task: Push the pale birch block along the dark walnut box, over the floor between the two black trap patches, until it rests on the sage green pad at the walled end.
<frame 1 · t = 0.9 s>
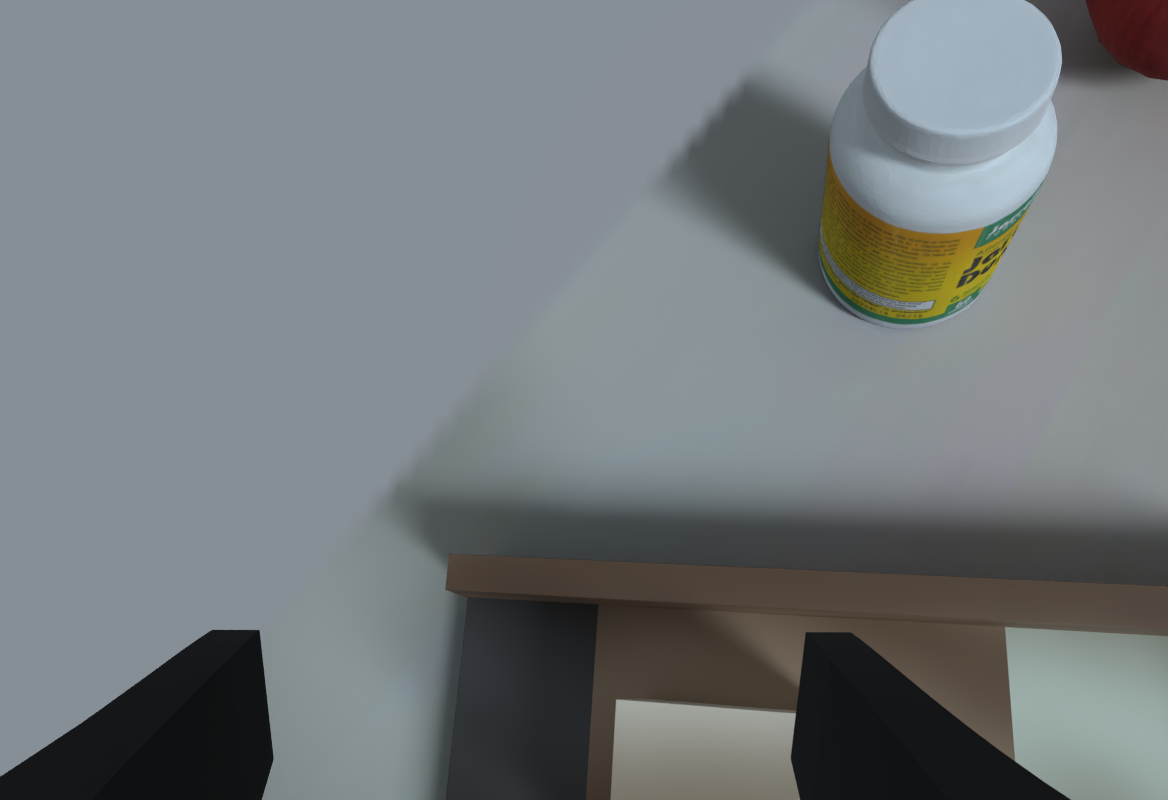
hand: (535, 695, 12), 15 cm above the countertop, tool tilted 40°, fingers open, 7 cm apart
supplement bottle: (901, 260, 28), on the countertop
onion: (1148, 62, 29), on the countertop
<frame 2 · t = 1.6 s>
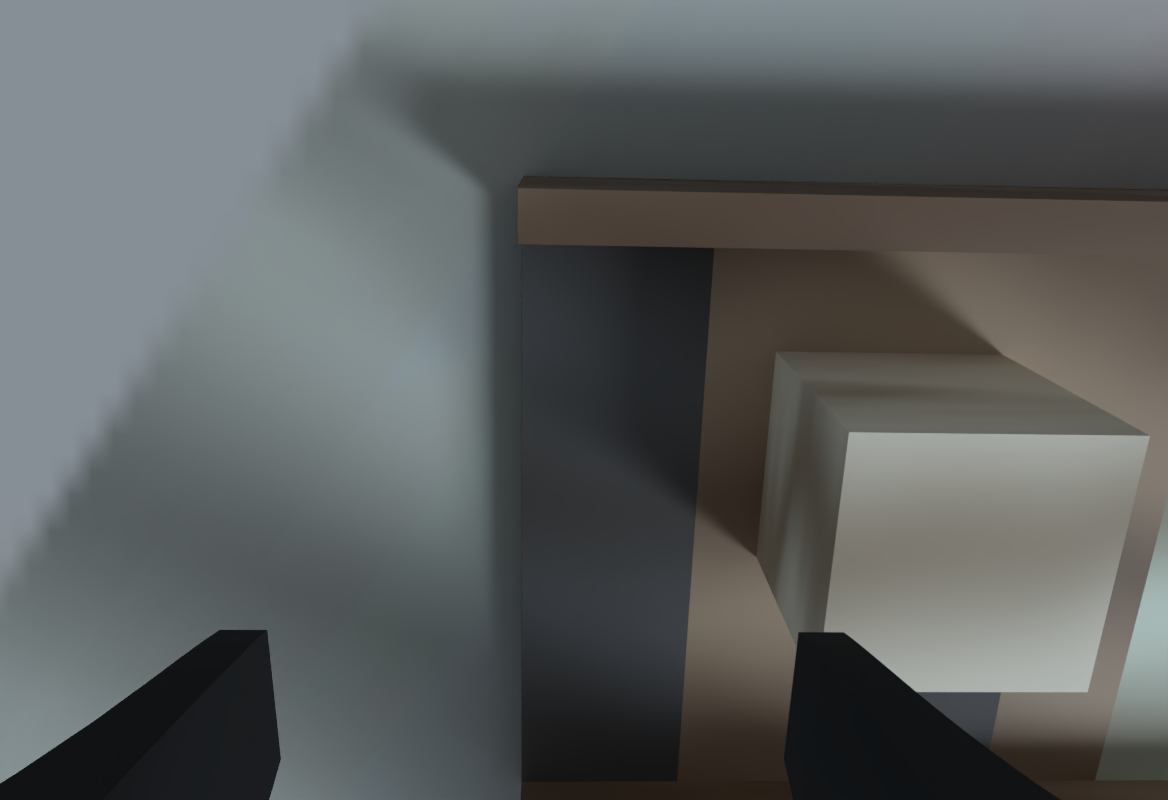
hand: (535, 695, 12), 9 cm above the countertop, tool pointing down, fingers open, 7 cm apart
trap box: (1011, 520, 21), on the countertop
birch block: (875, 459, 20), point 1 cm above the countertop, touching trap box
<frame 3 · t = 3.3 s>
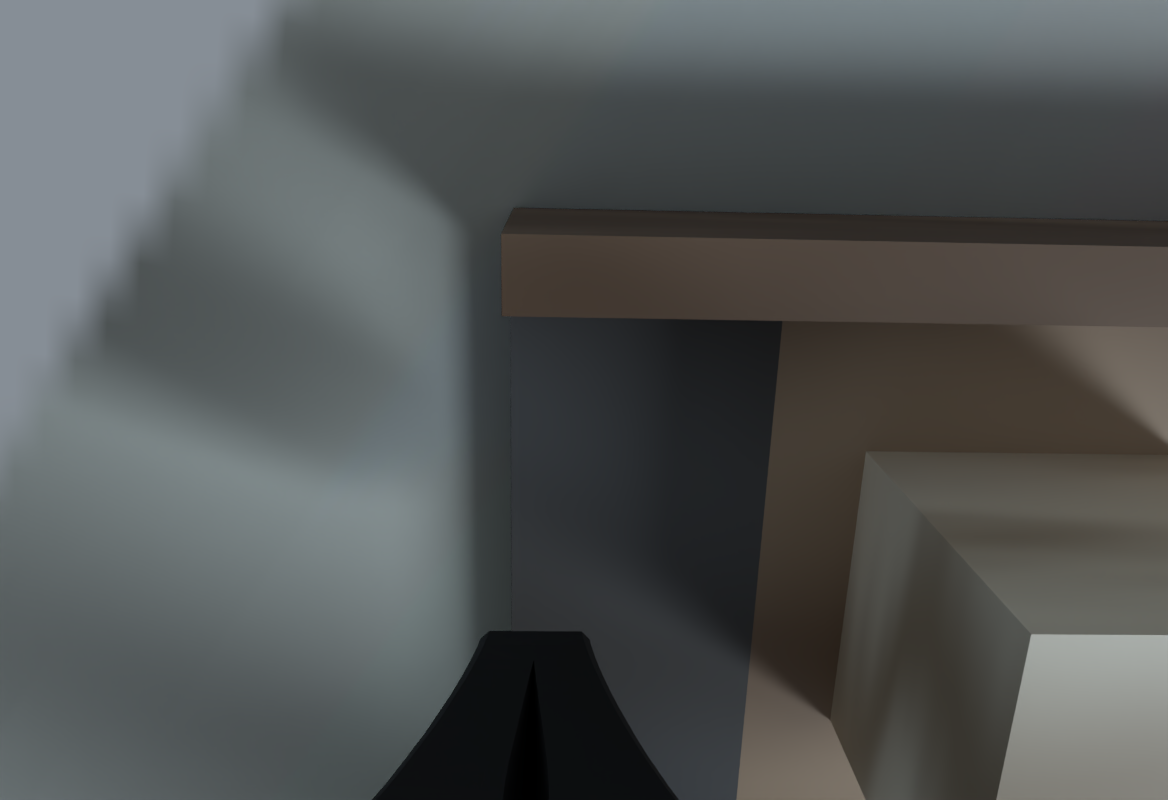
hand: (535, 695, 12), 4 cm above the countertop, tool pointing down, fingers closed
trap box: (1165, 662, 16), on the countertop
birch block: (996, 594, 14), point 1 cm above the countertop, touching trap box
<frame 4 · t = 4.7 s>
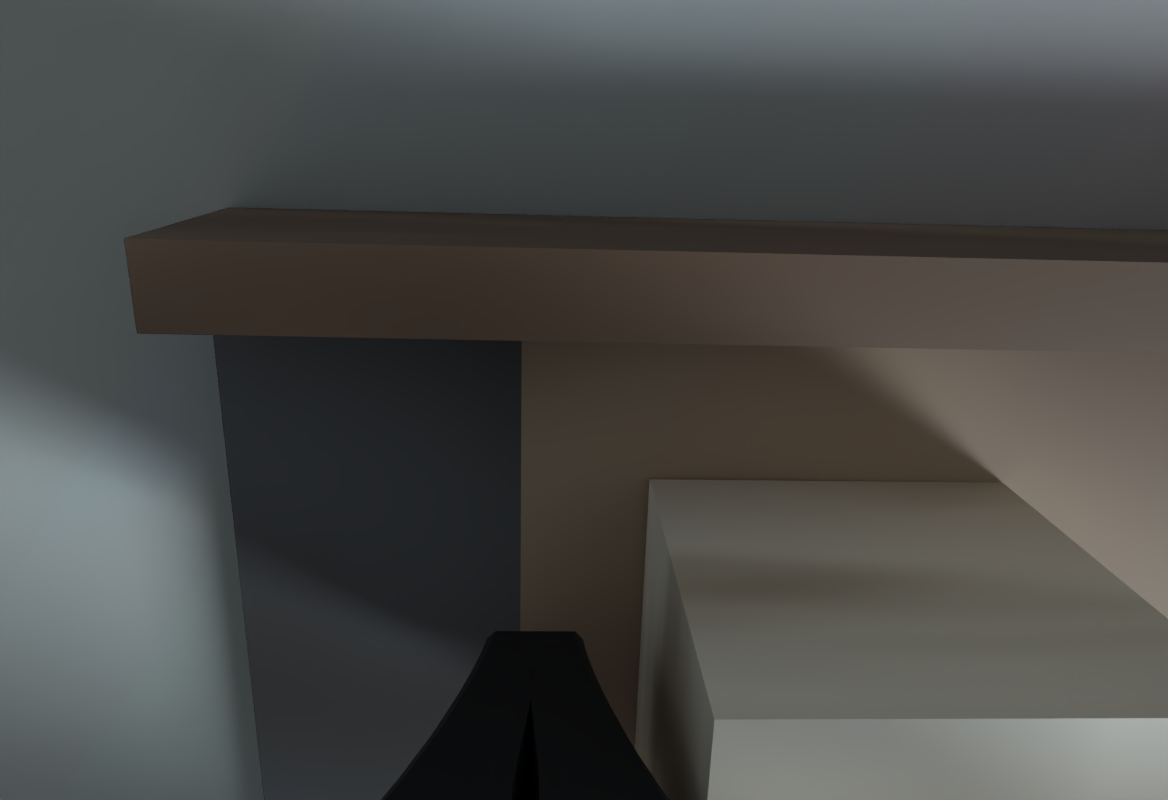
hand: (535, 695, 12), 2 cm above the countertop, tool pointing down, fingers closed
trap box: (996, 707, 15), on the countertop
birch block: (808, 635, 13), point 1 cm above the countertop, touching gripper
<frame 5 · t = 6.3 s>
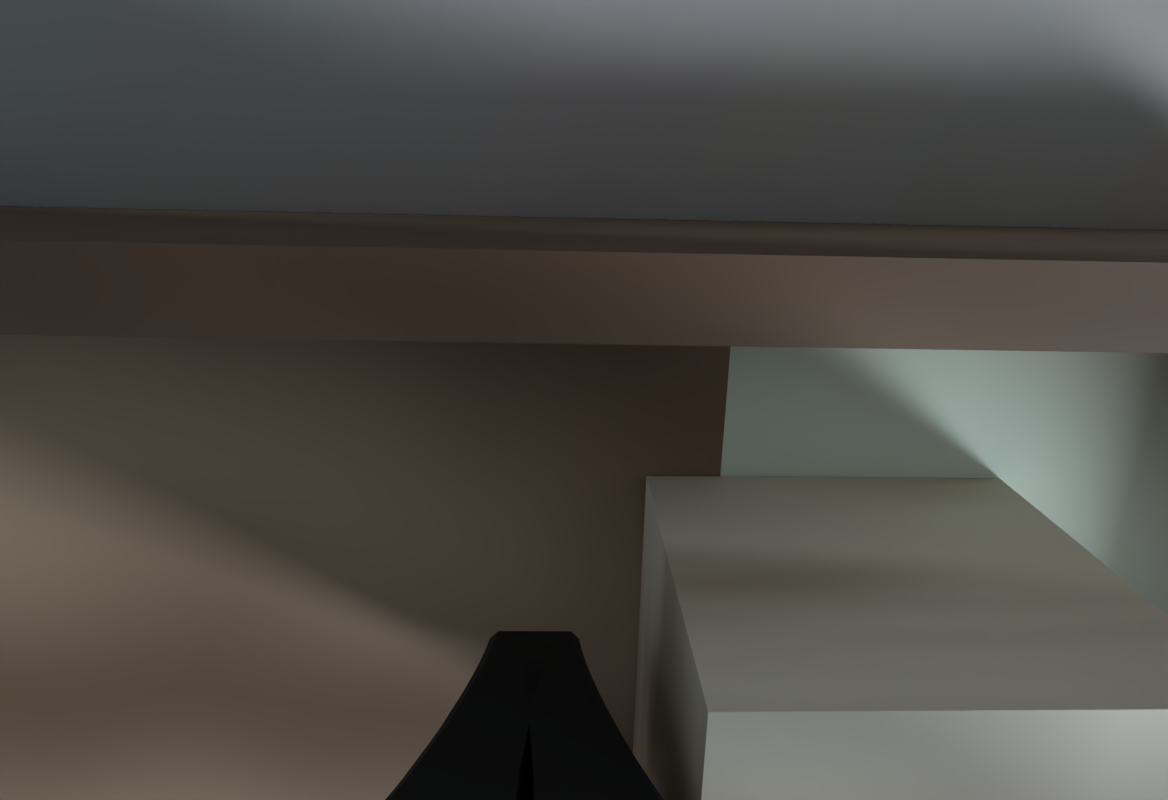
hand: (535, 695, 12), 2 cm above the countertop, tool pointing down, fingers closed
trap box: (509, 706, 14), on the countertop
birch block: (806, 631, 13), point 1 cm above the countertop, touching gripper, trap box
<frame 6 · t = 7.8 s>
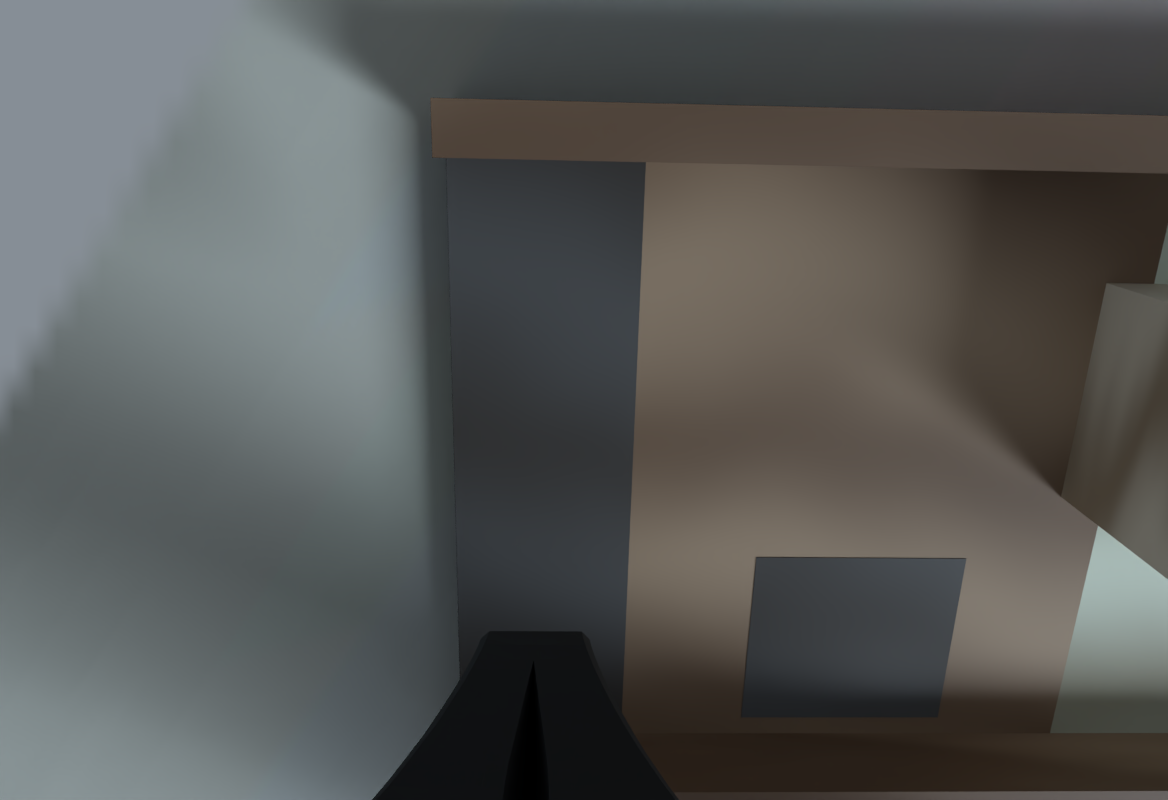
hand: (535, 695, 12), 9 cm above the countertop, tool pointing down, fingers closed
trap box: (960, 463, 21), on the countertop
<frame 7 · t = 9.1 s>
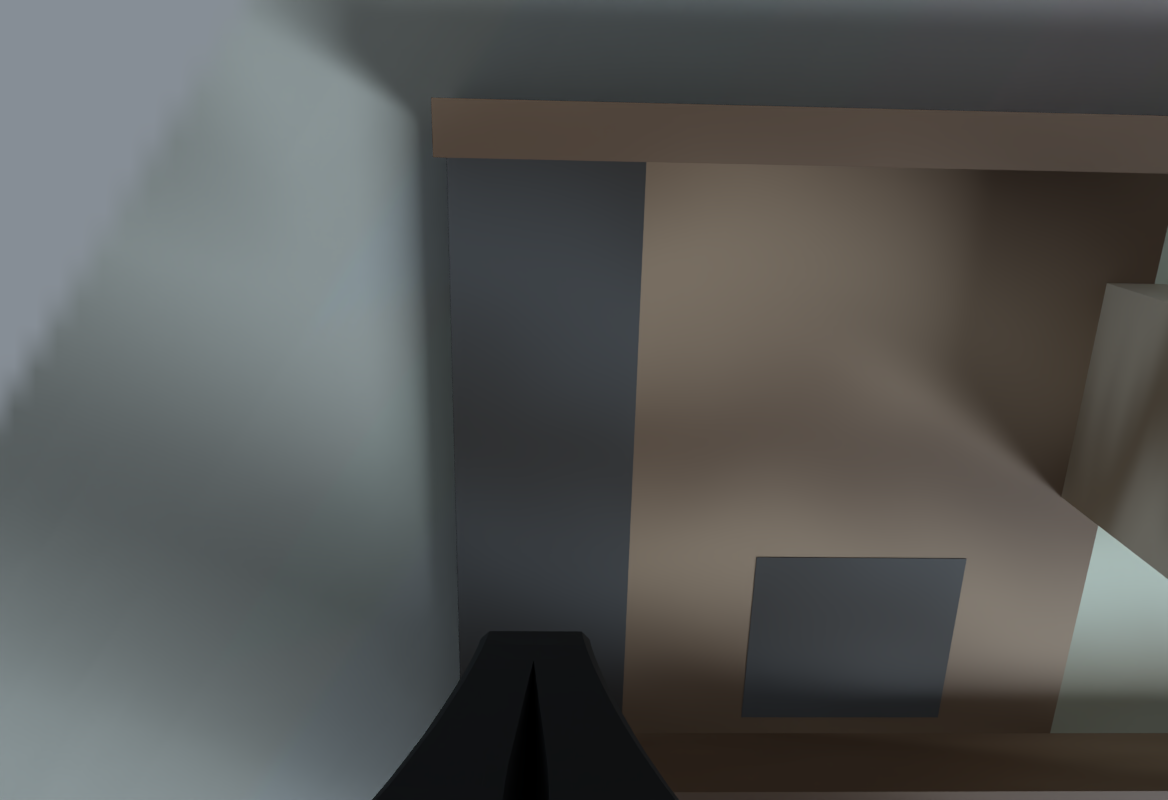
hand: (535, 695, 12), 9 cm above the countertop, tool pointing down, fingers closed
trap box: (961, 463, 21), on the countertop
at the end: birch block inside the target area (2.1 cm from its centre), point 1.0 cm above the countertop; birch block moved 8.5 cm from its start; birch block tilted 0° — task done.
